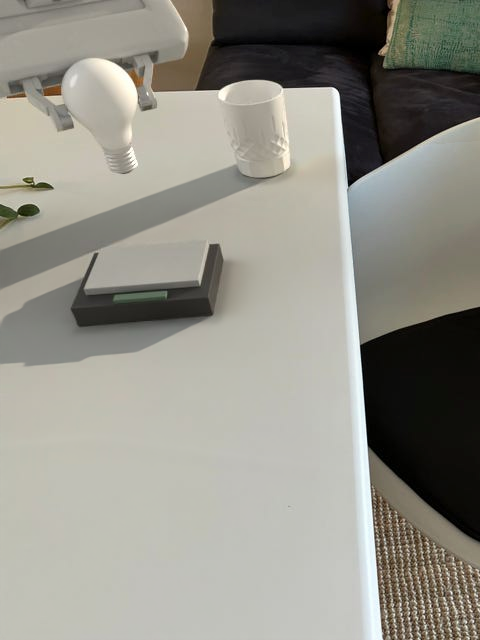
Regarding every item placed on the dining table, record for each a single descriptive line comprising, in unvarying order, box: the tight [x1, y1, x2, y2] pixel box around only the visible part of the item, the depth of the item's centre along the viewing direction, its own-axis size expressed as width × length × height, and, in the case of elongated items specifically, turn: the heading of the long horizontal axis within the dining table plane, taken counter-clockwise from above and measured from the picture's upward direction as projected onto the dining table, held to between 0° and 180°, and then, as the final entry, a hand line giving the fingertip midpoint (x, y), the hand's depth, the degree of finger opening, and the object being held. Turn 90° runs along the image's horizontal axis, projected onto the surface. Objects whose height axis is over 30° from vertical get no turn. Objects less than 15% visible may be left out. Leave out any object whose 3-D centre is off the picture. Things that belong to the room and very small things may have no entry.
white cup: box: [216, 79, 291, 179], centre depth 99 cm, size 8×8×10 cm
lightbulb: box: [60, 58, 139, 175], centre depth 73 cm, size 6×6×11 cm
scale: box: [70, 239, 224, 327], centre depth 80 cm, size 13×10×3 cm
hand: (108, 117), depth 73 cm, fingers closed on lightbulb, 6 cm apart
